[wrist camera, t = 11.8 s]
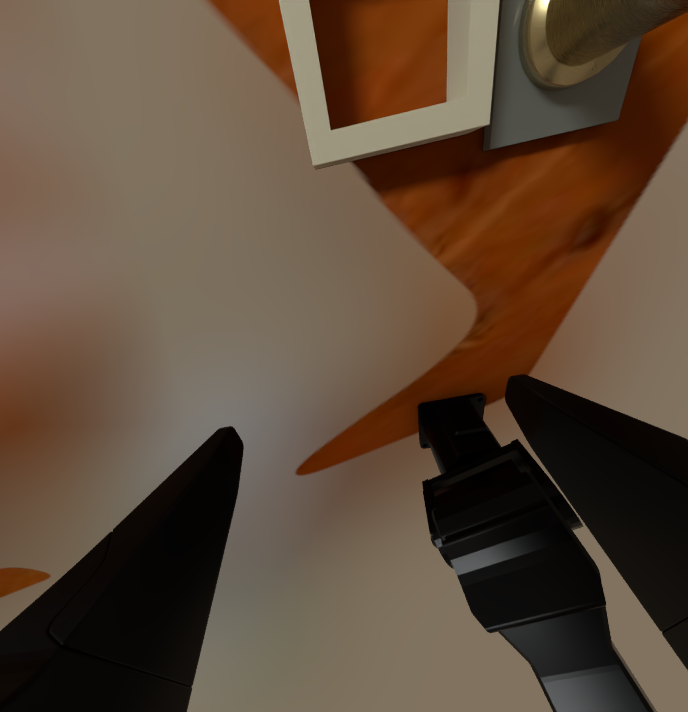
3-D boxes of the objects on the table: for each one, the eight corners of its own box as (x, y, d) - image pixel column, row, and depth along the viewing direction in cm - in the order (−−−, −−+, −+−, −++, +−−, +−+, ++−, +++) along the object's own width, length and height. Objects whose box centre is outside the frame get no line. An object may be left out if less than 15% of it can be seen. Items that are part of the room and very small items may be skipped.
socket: (466, 134, 15) (489, 124, 13) (315, 169, 16) (313, 165, 13) (480, -157, 10) (519, -248, 8) (261, -91, 11) (245, -160, 9)
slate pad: (605, 123, 15) (618, 120, 14) (482, 151, 16) (489, 149, 15) (682, -171, 10) (706, -197, 10) (502, -119, 11) (514, -140, 10)
